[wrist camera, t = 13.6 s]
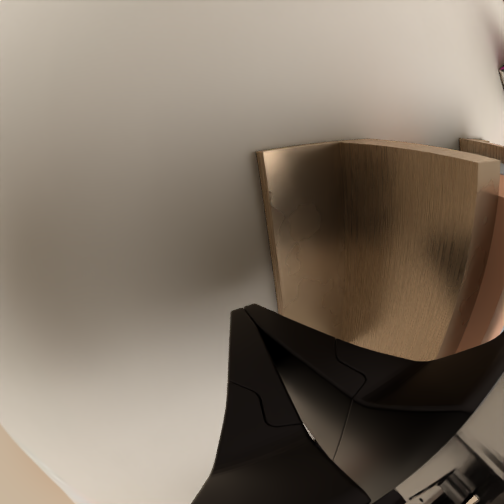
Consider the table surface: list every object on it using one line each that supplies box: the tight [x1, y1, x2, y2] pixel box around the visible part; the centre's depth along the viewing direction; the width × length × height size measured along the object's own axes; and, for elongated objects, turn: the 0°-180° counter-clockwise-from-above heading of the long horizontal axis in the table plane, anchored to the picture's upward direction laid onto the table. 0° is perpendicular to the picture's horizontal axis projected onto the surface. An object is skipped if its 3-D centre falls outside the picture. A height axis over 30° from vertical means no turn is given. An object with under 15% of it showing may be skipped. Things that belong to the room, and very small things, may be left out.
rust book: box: [456, 174, 504, 353], centre depth 10 cm, size 8×4×7 cm, turn 7°
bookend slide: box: [256, 139, 500, 361], centre depth 9 cm, size 10×5×6 cm, turn 7°
